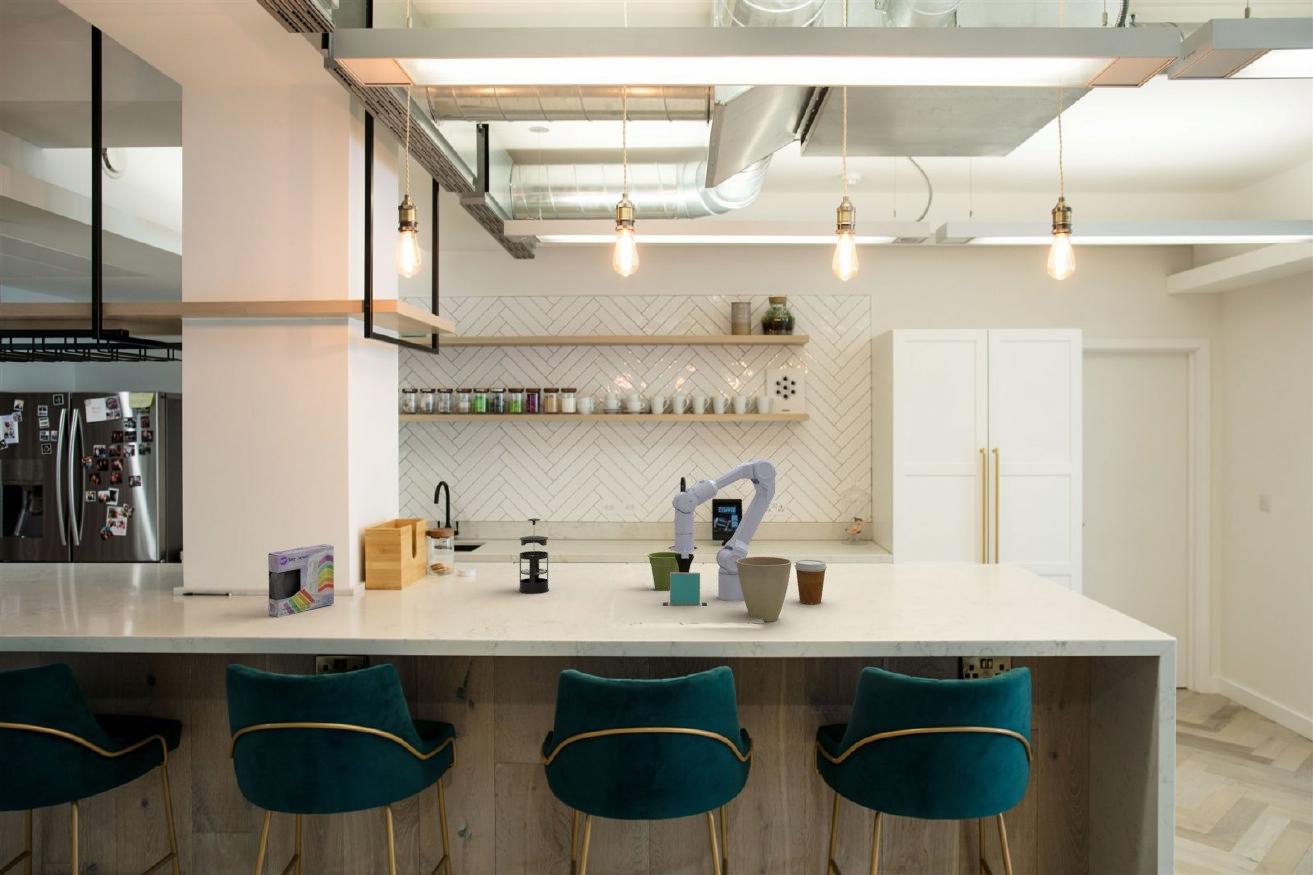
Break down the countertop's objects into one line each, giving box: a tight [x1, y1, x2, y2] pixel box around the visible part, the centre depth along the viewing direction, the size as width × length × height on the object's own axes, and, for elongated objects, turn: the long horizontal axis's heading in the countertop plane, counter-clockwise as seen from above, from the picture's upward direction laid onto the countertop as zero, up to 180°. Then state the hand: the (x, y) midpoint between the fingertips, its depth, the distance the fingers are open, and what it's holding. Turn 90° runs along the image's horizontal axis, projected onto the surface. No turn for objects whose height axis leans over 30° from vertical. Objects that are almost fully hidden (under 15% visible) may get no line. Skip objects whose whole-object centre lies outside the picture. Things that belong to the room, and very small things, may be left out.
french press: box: [518, 517, 550, 595], centre depth 257 cm, size 12×9×23 cm
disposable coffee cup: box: [794, 559, 828, 605], centre depth 241 cm, size 10×10×12 cm
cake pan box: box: [267, 543, 335, 618], centre depth 228 cm, size 19×5×18 cm, turn 149°
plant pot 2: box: [736, 556, 792, 623], centre depth 220 cm, size 15×15×16 cm
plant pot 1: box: [647, 551, 681, 592], centre depth 259 cm, size 12×12×11 cm
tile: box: [669, 571, 701, 605], centre depth 232 cm, size 9×1×9 cm, turn 90°
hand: (684, 579), depth 238 cm, fingers closed
